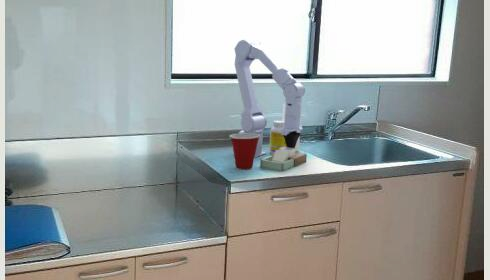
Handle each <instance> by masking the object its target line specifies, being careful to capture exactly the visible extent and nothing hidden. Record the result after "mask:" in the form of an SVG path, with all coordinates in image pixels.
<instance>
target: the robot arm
mask: <svg viewBox="0 0 490 280" xmlns="http://www.w3.org/2000/svg"><path fill="white" fill-rule="evenodd" d="M234 54H235V58H234V68H235V73H236V78H237V82H238V86H239V91H240V95H241V101H242V105H243V106H242V107H243V110H242V112H241V113H240V117H241V120H240V126H241V128H242V130H240V131H239V132H238V134H239V133H255V134H260V137H259V139H258V144H257V148H256V153H255V158H257V157H260V156H263V155H265V154H266V153H267V152H266V151H263V138H264V137H263V135H264V133H263V132H264V129H265V128H266V127H267V125H268V124H267V122H268V120H267V117H266V116H265V114H264V111H263V109H262V108H261V107H260V106H259V104H258V100H257V95H256V90H255V86H254V81H253V76H252V72H251V68H250V67H251V65H252V63H253V62H254V61H255V60H259V61H260V62H261V64H263V66H265V68H267V69H268V70H269V72H270V73H271V74H272V77H271V78H272V79H273V81H275V83H276V84H277V85H278V86H279V87H280V88H281V89H282V92H283V93H282V94H283V96H284V98H285V101H284V102H286V107H285V124H284V127H283V129H281V135H283V137H284V139H285V142H286V146H287V147H289V148H295V146H296V143H297V140H298V138H299V136H300V137H301V135H302V133H301V132H302V131H303V125H302V124H301V125H300V116H301V117H302V110H301V105H302V101H303V100H302V98H303V97H304V95H305V92H306V88H305V86H304V84H303V83H302V82H300V81H297V79H296V78H294V77H293V76H292V75H291V73H290V72H289V69H288V68H285V67H280V65H278V64H277V62H276V61H275V60H274V59H273V57H272V56H271V54H270V52H268V51H267V48H266V46H264V45H263V44H262V42H261V41H259V40H256V39H255V40H254V39H253V40H247V39H241V40H239V41H238V42H237V44H236V45H235V47H234ZM297 131H300V133H299V132H297Z"/></svg>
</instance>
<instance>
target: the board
mask: <svg viewBox="0 0 490 280" xmlns="http://www.w3.org/2000/svg"><path fill="white" fill-rule="evenodd" d="M274 154H275V153H274ZM274 154H271V153H270V156H271V155H273V156H274ZM307 156H308V155H307V153H303V152H295V155H294V156H291V157H288V160H290V159H294V168H295V167H297V166H299V165H302V164H304V163H306V162H307ZM288 160H287V161H288Z"/></svg>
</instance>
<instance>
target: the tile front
mask: <svg viewBox="0 0 490 280" xmlns="http://www.w3.org/2000/svg"><path fill="white" fill-rule="evenodd" d="M288 157H289V154H288V152H286V151H280V150H276V151H275V154H274V156H273V158H272V161H274V162H280V163H283V162H285V161H287V160H288Z"/></svg>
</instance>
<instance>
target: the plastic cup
mask: <svg viewBox="0 0 490 280" xmlns="http://www.w3.org/2000/svg"><path fill="white" fill-rule="evenodd" d="M259 137H260V134H255V133H239V132H238V133H232V134H230V135H229V138H230V139H231V142H232V143H231V144H232V150H233V159H234V164H235V168H236V169H238V170H246V171H247V170H251V169H253V165H254V161H255V158H256V157H255V153H256V148H257V144H258V139H259Z"/></svg>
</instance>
